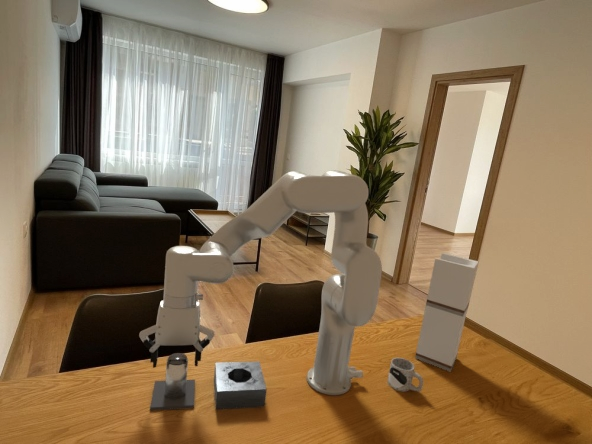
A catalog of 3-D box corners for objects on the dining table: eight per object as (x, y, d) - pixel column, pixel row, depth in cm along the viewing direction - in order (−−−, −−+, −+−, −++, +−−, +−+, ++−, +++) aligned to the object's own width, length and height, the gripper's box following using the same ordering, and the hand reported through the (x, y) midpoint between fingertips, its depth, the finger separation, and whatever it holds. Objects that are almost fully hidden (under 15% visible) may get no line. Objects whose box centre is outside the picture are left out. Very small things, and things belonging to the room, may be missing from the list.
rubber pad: (194, 382, 101) (195, 379, 101) (194, 408, 91) (194, 405, 91) (154, 383, 98) (155, 381, 98) (149, 410, 89) (150, 407, 89)
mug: (383, 383, 111) (387, 362, 110) (394, 374, 116) (398, 355, 115) (415, 401, 105) (419, 379, 103) (425, 391, 110) (429, 371, 108)
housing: (257, 377, 106) (259, 361, 105) (264, 406, 95) (266, 389, 94) (213, 379, 103) (215, 362, 102) (215, 409, 92) (217, 391, 91)
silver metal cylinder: (186, 386, 98) (188, 352, 96) (185, 398, 93) (187, 363, 91) (165, 386, 96) (167, 352, 95) (163, 399, 92) (165, 364, 90)
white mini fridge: (456, 358, 130) (478, 261, 123) (450, 372, 121) (474, 268, 114) (422, 346, 136) (442, 252, 129) (414, 358, 127) (435, 258, 120)
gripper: (216, 293, 95) (211, 354, 99) (143, 291, 91) (140, 356, 94) (218, 305, 88) (212, 371, 92) (138, 304, 84) (135, 374, 87)
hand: (175, 363), depth 93 cm, fingers open, 9 cm apart
